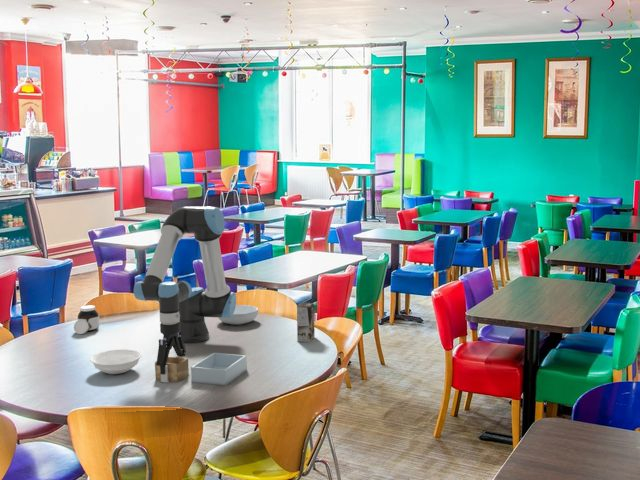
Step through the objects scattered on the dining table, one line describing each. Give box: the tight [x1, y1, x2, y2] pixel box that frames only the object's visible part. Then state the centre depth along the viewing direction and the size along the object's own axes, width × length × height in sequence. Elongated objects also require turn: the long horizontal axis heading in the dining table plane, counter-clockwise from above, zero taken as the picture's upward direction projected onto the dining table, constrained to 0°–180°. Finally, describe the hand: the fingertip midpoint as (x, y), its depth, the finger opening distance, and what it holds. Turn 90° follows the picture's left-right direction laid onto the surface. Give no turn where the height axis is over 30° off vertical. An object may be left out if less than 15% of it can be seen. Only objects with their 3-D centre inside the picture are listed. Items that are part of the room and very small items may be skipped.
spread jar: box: [73, 304, 100, 335], centre depth 365 cm, size 12×11×12 cm
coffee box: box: [296, 302, 316, 343], centre depth 346 cm, size 9×6×16 cm
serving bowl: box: [218, 304, 259, 326], centre depth 378 cm, size 21×21×7 cm
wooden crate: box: [154, 356, 190, 383], centre depth 296 cm, size 10×8×7 cm
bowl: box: [90, 349, 142, 375], centre depth 304 cm, size 20×20×6 cm
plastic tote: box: [190, 352, 248, 387], centre depth 297 cm, size 14×19×6 cm
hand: (172, 377), depth 297 cm, fingers open, 11 cm apart
